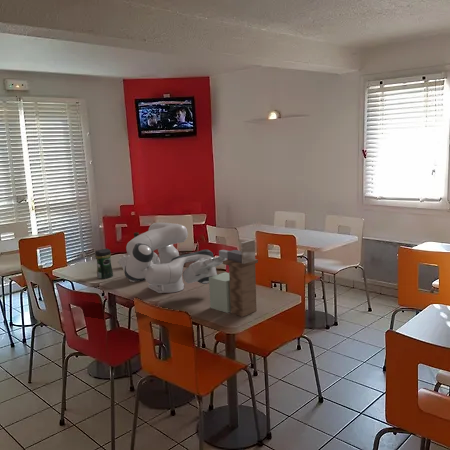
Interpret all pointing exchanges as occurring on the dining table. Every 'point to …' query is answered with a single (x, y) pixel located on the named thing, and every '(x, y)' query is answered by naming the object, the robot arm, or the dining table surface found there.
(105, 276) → the coffee jar
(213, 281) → the sage step
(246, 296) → the brown wooden tower
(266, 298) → the dining table surface
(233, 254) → the plug
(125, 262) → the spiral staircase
